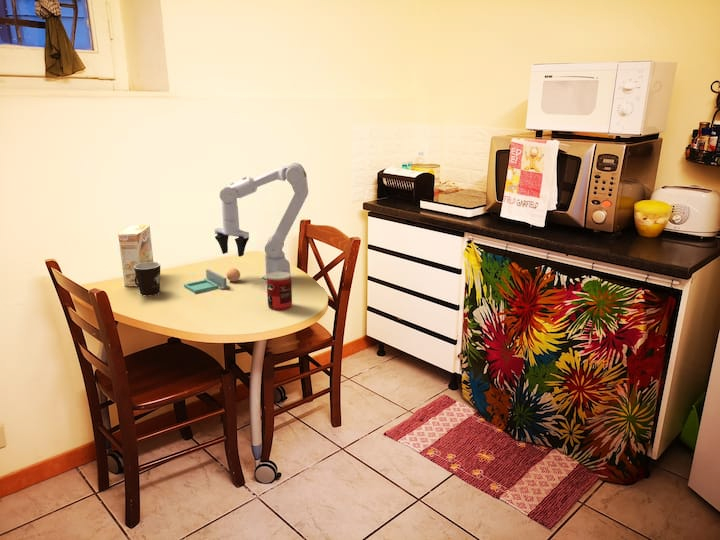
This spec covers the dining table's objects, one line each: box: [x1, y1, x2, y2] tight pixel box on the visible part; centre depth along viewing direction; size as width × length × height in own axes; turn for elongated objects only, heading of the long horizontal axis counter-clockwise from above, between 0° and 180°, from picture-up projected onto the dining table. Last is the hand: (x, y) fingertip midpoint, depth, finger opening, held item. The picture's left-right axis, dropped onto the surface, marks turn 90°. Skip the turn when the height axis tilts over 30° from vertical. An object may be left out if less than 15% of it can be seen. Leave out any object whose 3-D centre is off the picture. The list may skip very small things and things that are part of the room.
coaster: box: [183, 278, 220, 294], centre depth 195 cm, size 9×9×1 cm
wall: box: [203, 269, 230, 291], centre depth 199 cm, size 14×3×4 cm, turn 41°
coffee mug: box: [134, 261, 161, 297], centre depth 187 cm, size 12×9×10 cm
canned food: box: [266, 271, 293, 311], centre depth 177 cm, size 8×8×11 cm
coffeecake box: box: [117, 224, 154, 285], centre depth 201 cm, size 15×7×20 cm, turn 4°
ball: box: [226, 267, 241, 283], centre depth 202 cm, size 5×5×5 cm
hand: (233, 254), depth 203 cm, fingers open, 7 cm apart
